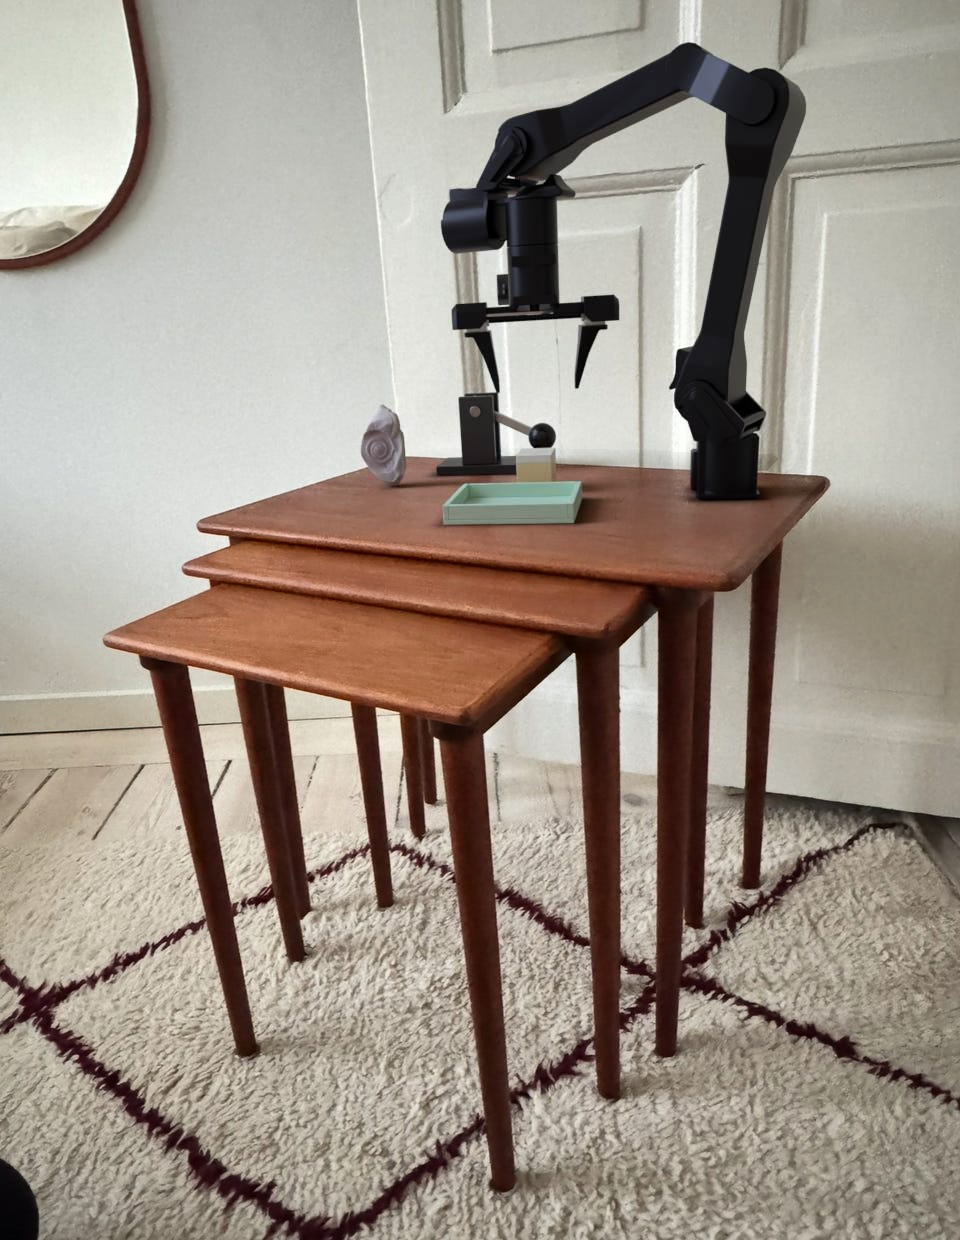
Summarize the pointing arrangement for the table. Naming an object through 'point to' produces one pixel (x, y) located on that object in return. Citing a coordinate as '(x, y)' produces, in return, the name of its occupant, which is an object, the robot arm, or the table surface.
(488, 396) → the black lever stand
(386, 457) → the fossil
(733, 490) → the robot arm
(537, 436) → the lever
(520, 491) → the tray
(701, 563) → the table surface
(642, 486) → the table surface
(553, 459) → the cake slice
